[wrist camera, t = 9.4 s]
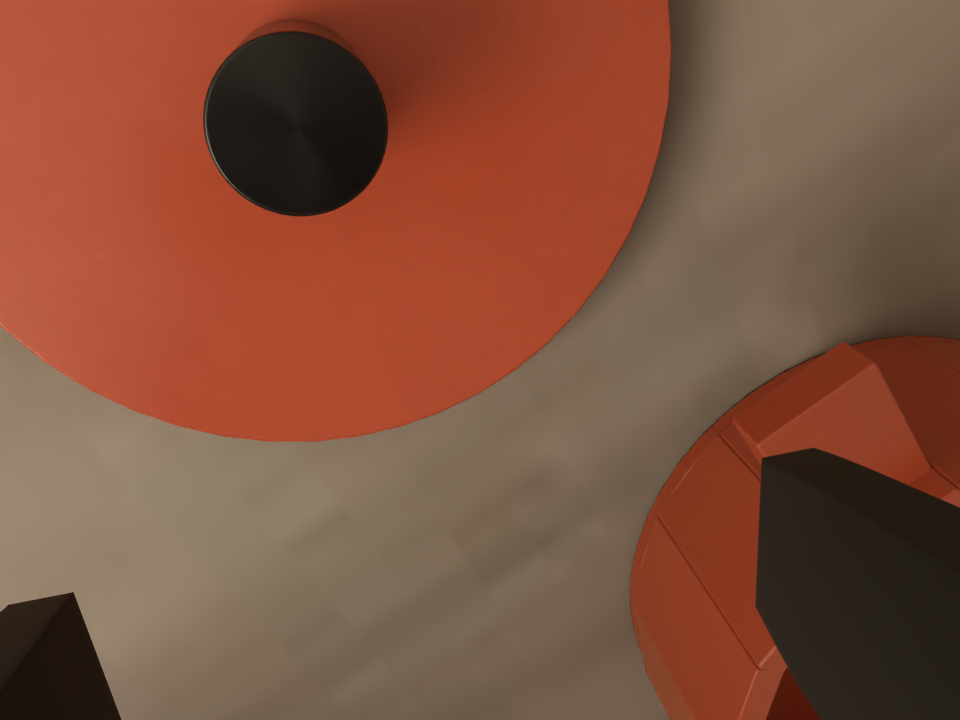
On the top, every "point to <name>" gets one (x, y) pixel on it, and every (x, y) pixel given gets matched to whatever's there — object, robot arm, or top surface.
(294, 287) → the lid
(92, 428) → the top surface
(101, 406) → the top surface
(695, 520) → the pan
